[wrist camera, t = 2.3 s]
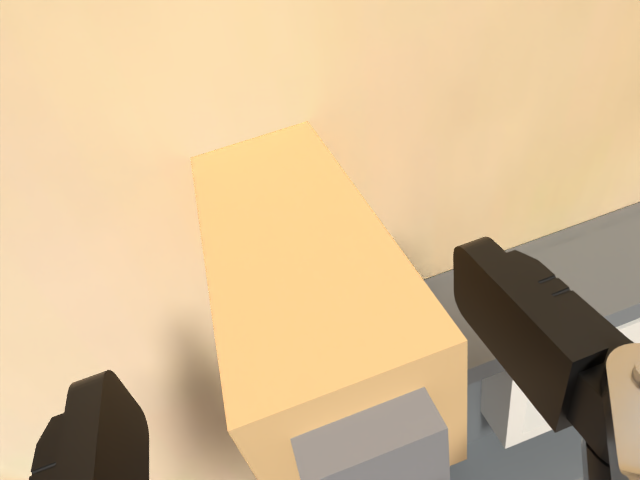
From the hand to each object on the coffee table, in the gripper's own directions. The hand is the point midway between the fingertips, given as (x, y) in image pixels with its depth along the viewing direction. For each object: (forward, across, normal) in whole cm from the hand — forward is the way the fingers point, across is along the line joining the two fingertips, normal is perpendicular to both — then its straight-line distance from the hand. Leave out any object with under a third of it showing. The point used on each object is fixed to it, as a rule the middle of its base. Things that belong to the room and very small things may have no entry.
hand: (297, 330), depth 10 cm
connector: (+7, -1, 0) cm, 7 cm away
